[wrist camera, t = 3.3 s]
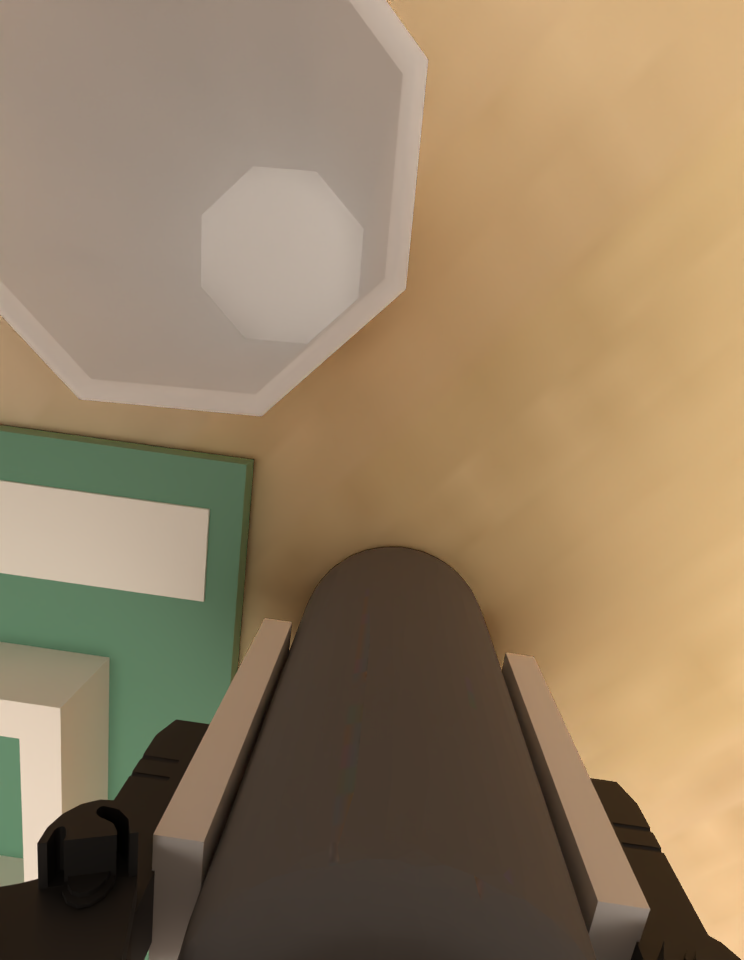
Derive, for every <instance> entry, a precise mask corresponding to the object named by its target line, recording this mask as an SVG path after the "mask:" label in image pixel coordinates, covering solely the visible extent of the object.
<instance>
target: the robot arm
mask: <svg viewBox="0 0 744 960" xmlns="http://www.w3.org/2000/svg"><path fill="white" fill-rule="evenodd" d="M291 627H292V622H289V621H282V620H275V619H268V618H264V620H263V622H262V624H261V626H260V628H259V630H258V632H257V634H256V636H255V638H254V639H253V641H252V643H251V645H250V647H249V649H248V651H247V653H246V655H245V657H244V659H243V661H242V663H241V665H240V667H239V669H238V671H237V673H236V674H235V676H234V678H233V680H232V682H231V684H230V686H229V688H228V690H227V692H226V694H225V696H224V698H223V700H222V702H221V704H220V706H219V708H218V709H217V711H216V713H215V715H214V717H213V719H212V721H211V723H210V724H205V723H198V722H191V721H184V720H177V719H176V720H175V721H173V722H172V723H171V724H169V725H168V726H167V727H166V728H164V729H163V730H162V731H160V732H159V733H158V734H156V735H155V737H154V739H153V740H152V742H151V743H150V745H149V746H148V748H147V749H146V751H145V753H144V754H143V757H142V759H140V760H139V762H138V763H137V765H136V767H135V768H134V770H133V771H132V775H131V776H129V777H128V779H127V780H126V782H125V784H124V785H123V787H122V788H121V790H120V791H119V793H118V794H117V796H116V798H115V799H114V800H102V799H100V800H96V801H92V802H87V803H83V804H80V805H78V806H76V807H75V808H73V809H71V810H69V811H67V812H65V813H63V814H62V815H61V816H60V817H58V818H57V819H56V820H55V821H54V822H53V823H52V824H50V825H49V826H48V827H47V829H46V830H45V832H44V833H43V835H42V837H41V838H40V840H39V841H38V843H37V856H38V879H35V880H31V881H27V882H23V883H19V884H13V885H7V886H1V887H0V960H145V957H146V955H147V952H148V950H149V960H177V959H178V956H179V953H180V949H181V946H182V943H183V940H184V936H185V933H186V930H187V926H188V923H189V920H190V917H191V915H192V912H193V909H194V906H195V904H196V901H197V898H198V896H199V893H200V890H201V887H202V885H203V882H204V879H205V877H206V874H207V871H208V868H209V866H210V863H211V860H212V858H213V855H214V852H215V849H216V847H217V844H218V841H219V839H220V836H221V833H222V830H223V828H224V825H225V822H226V820H227V817H228V814H229V811H230V809H231V806H232V803H233V801H234V798H235V795H236V792H237V790H238V787H239V784H240V782H241V779H242V776H243V773H244V771H245V768H246V765H247V763H248V760H249V757H250V754H251V752H252V749H253V746H254V744H255V741H256V738H257V735H258V733H259V730H260V727H261V725H262V722H263V719H264V717H265V714H266V711H267V709H268V706H269V704H270V701H271V698H272V696H273V693H274V690H275V688H276V685H277V682H278V680H279V677H280V674H281V672H282V669H283V667H284V664H285V661H286V659H287V656H288V653H289V647H290V637H291ZM502 674H503V677H504V680H505V683H506V686H507V689H508V692H509V695H510V698H511V701H512V704H513V707H514V710H515V713H516V716H517V719H518V722H519V725H520V728H521V731H522V734H523V737H524V740H525V743H526V746H527V749H528V752H529V755H530V758H531V761H532V764H533V767H534V770H535V773H536V776H537V779H538V782H539V785H540V788H541V791H542V794H543V797H544V800H545V803H546V806H547V809H548V812H549V815H550V818H551V821H552V824H553V827H554V830H555V833H556V836H557V839H558V842H559V845H560V848H561V851H562V854H563V857H564V860H565V863H566V866H567V869H568V872H569V875H570V878H571V881H572V885H573V888H574V891H575V894H576V897H577V900H578V903H579V906H580V909H581V913H582V916H583V919H584V922H585V925H586V928H587V931H588V934H589V937H590V940H591V944H592V947H593V950H594V953H595V956H596V959H597V960H741V959H740V958H739V957H737V956H736V955H735V954H734V953H733V952H732V951H730V950H729V949H728V948H727V947H726V946H725V945H723V944H722V943H721V942H719V941H717V940H716V939H714V938H712V937H710V936H709V935H708V934H707V932H706V930H705V929H704V927H703V925H702V923H701V921H700V919H699V917H698V916H697V914H696V912H695V910H694V908H693V906H692V905H691V903H690V901H689V899H688V897H687V895H686V893H685V892H684V890H683V888H682V886H681V884H680V882H679V880H678V879H677V877H676V875H675V873H674V871H673V869H672V867H671V866H670V864H669V862H668V860H667V858H666V856H665V855H664V853H662V852H661V847H660V845H659V843H658V842H657V840H656V838H655V836H654V834H653V833H652V832H650V827H649V825H648V823H647V821H646V819H645V818H644V816H643V814H642V812H641V810H640V808H639V806H638V805H637V803H636V802H635V801H634V800H633V799H632V798H631V797H630V796H629V795H628V794H627V793H626V792H625V791H624V790H623V788H622V787H621V786H620V785H619V784H618V783H617V782H613V781H606V780H599V779H592V778H590V777H589V775H588V773H587V771H586V769H585V766H584V764H583V762H582V760H581V758H580V756H579V753H578V751H577V749H576V747H575V745H574V743H573V740H572V738H571V736H570V734H569V732H568V730H567V727H566V725H565V723H564V721H563V719H562V716H561V714H560V712H559V710H558V708H557V706H556V703H555V701H554V699H553V697H552V695H551V693H550V690H549V688H548V686H547V684H546V682H545V680H544V677H543V675H542V673H541V671H540V669H539V667H538V664H537V662H536V660H535V658H534V656H527V655H520V654H513V653H506V654H505V659H504V664H503V668H502Z"/></svg>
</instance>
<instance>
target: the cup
mask: <svg viewBox="0 0 744 960" xmlns="http://www.w3.org/2000/svg"><path fill="white" fill-rule="evenodd" d="M427 68H428V58H427V57H426V56H425V54H424V53H423V51H422V50H421V49H420V47H419V46H418V44H417V43H416V42H415V40H414V39H413V37H412V36H411V35H410V33H409V32H408V31H407V29H406V28H405V26H404V25H403V24H402V22H401V21H400V19H399V18H398V17H397V15H396V14H395V12H394V11H393V10H392V8H391V7H390V5H389V4H388V3H387V1H386V0H0V315H1V316H2V317H3V318H4V319H5V320H6V321H7V322H8V323H9V325H10V326H11V327H12V328H13V329H14V330H15V331H16V332H17V333H18V334H19V335H20V336H21V337H22V338H23V340H24V341H25V342H26V343H27V344H28V345H29V346H30V347H31V348H32V349H33V350H34V351H35V352H36V353H37V355H38V356H39V357H40V358H41V359H42V360H43V361H44V362H45V363H46V364H47V365H48V366H49V367H50V369H51V370H52V371H53V372H54V373H55V374H56V375H57V376H58V377H59V378H60V379H61V380H62V381H63V382H64V384H65V385H66V386H67V387H68V388H69V389H70V390H71V391H72V392H73V393H74V394H75V395H76V396H77V397H78V399H80V400H91V401H102V402H112V403H123V404H134V405H144V406H155V407H166V408H176V409H187V410H197V411H208V412H219V413H229V414H240V415H251V416H263V415H264V414H265V413H266V412H267V411H268V410H269V409H271V408H272V407H273V406H274V405H275V404H276V403H277V402H278V401H280V400H281V399H282V398H283V397H284V396H285V395H286V394H288V393H289V392H290V391H291V390H292V389H293V388H294V387H296V386H297V385H298V384H299V383H300V382H301V381H302V380H303V379H305V378H306V377H307V376H308V375H309V374H310V373H311V372H313V371H314V370H315V369H316V368H317V367H318V366H319V365H321V364H322V363H323V362H324V361H325V360H326V359H327V358H328V357H330V356H331V355H332V354H333V353H334V352H335V351H336V350H338V349H339V348H340V347H341V346H342V345H343V344H344V343H346V342H347V341H348V340H349V339H350V338H351V337H352V336H353V335H355V334H356V333H357V332H358V331H359V330H360V329H361V328H363V327H364V326H365V325H366V324H367V323H368V322H369V321H371V320H372V319H373V318H374V317H375V316H376V315H377V314H378V313H380V312H381V311H382V310H383V309H384V308H385V307H386V306H388V305H389V304H390V303H391V302H392V301H393V300H394V299H396V298H397V297H398V296H399V295H400V294H401V293H402V292H403V291H405V290H406V283H407V273H408V263H409V252H410V242H411V232H412V222H413V211H414V201H415V191H416V181H417V170H418V160H419V150H420V140H421V129H422V119H423V109H424V99H425V88H426V78H427Z"/></svg>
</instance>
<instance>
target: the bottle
mask: <svg viewBox="0 0 744 960" xmlns="http://www.w3.org/2000/svg"><path fill="white" fill-rule="evenodd" d="M177 960H597V959H596V956H595V953H594V950H593V947H592V944H591V940H590V937H589V934H588V931H587V928H586V925H585V922H584V919H583V916H582V913H581V909H580V906H579V903H578V900H577V897H576V894H575V891H574V888H573V885H572V881H571V878H570V875H569V872H568V869H567V866H566V863H565V860H564V857H563V854H562V851H561V848H560V845H559V842H558V839H557V836H556V833H555V830H554V827H553V824H552V821H551V818H550V815H549V812H548V809H547V806H546V803H545V800H544V797H543V794H542V791H541V788H540V785H539V782H538V779H537V776H536V773H535V770H534V767H533V764H532V761H531V758H530V755H529V752H528V749H527V746H526V743H525V740H524V737H523V734H522V731H521V728H520V725H519V722H518V719H517V716H516V713H515V710H514V707H513V704H512V701H511V698H510V695H509V692H508V689H507V686H506V683H505V680H504V677H503V674H502V671H501V668H500V665H499V662H498V659H497V656H496V653H495V650H494V647H493V644H492V641H491V638H490V635H489V632H488V629H487V626H486V624H485V621H484V618H483V615H482V613H481V610H480V607H479V605H478V603H477V600H476V598H475V596H474V594H473V592H472V591H471V589H470V588H469V586H468V585H467V584H466V582H465V581H464V580H463V579H462V577H461V576H460V575H459V574H458V573H457V572H456V571H455V570H453V569H452V568H451V567H450V566H448V565H447V564H446V563H444V562H442V561H441V560H439V559H437V558H435V557H433V556H431V555H429V554H426V553H423V552H420V551H417V550H413V549H409V548H402V547H385V548H376V549H370V550H366V551H363V552H361V553H358V554H355V555H353V556H351V557H349V558H347V559H346V560H344V561H342V562H341V563H339V564H338V565H336V566H335V567H334V568H333V569H331V570H330V571H329V572H328V573H327V574H326V575H325V576H324V577H323V578H322V580H321V581H320V582H319V584H318V585H317V587H316V588H315V590H314V592H313V594H312V596H311V598H310V600H309V602H308V604H307V607H306V609H305V612H304V614H303V617H302V619H301V622H300V624H299V627H298V630H297V632H296V635H295V638H294V640H293V643H292V646H291V648H290V651H289V653H288V656H287V659H286V661H285V664H284V667H283V669H282V672H281V674H280V677H279V680H278V682H277V685H276V688H275V690H274V693H273V696H272V698H271V701H270V704H269V706H268V709H267V711H266V714H265V717H264V719H263V722H262V725H261V727H260V730H259V733H258V735H257V738H256V741H255V744H254V746H253V749H252V752H251V754H250V757H249V760H248V763H247V765H246V768H245V771H244V773H243V776H242V779H241V782H240V784H239V787H238V790H237V792H236V795H235V798H234V801H233V803H232V806H231V809H230V811H229V814H228V817H227V820H226V822H225V825H224V828H223V830H222V833H221V836H220V839H219V841H218V844H217V847H216V849H215V852H214V855H213V858H212V860H211V863H210V866H209V868H208V871H207V874H206V877H205V879H204V882H203V885H202V887H201V890H200V893H199V896H198V898H197V901H196V904H195V906H194V909H193V912H192V915H191V917H190V920H189V923H188V926H187V930H186V933H185V936H184V940H183V943H182V946H181V949H180V953H179V956H178V959H177Z"/></svg>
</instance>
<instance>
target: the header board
mask: <svg viewBox="0 0 744 960" xmlns="http://www.w3.org/2000/svg"><path fill="white" fill-rule="evenodd" d="M253 466H254V460H253V459H246V458H239V457H231V456H224V455H217V454H209V453H202V452H195V451H188V450H180V449H173V448H166V447H158V446H151V445H144V444H137V443H129V442H122V441H115V440H107V439H100V438H93V437H86V436H78V435H71V434H64V433H56V432H49V431H42V430H34V429H27V428H20V427H13V426H5V425H0V887H1V886H7V885H13V884H19V883H23V882H27V881H31V880H35V879H38V856H37V843H38V841H39V840H40V838H41V837H42V835H43V833H44V832H45V830H46V829H47V827H48V826H49V825H50V824H52V823H53V822H54V821H55V820H56V819H57V818H58V817H60V816H61V815H62V814H63V813H65V812H67V811H69V810H71V809H73V808H75V807H76V806H78V805H80V804H83V803H87V802H92V801H96V800H100V799H102V800H114V799H115V798H116V796H117V794H118V793H119V791H120V790H121V788H122V787H123V785H124V784H125V782H126V780H127V779H128V777H129V776H131V775H132V771H133V770H134V768H135V767H136V765H137V763H138V762H139V760H140V759H142V757H143V754H144V753H145V751H146V749H147V748H148V746H149V745H150V743H151V742H152V740H153V739H154V737H155V735H156V734H158V733H159V732H160V731H162V730H163V729H164V728H166V727H167V726H168V725H169V724H171V723H172V722H173V721H175V720H176V719H177V720H184V721H191V722H198V723H205V724H210V723H211V721H212V719H213V717H214V715H215V713H216V711H217V709H218V708H219V706H220V704H221V702H222V700H223V698H224V696H225V694H226V692H227V690H228V688H229V686H230V684H231V682H232V680H233V678H234V676H235V674H236V673H237V671H238V660H239V647H240V634H241V621H242V608H243V595H244V583H245V570H246V557H247V544H248V531H249V518H250V505H251V492H252V479H253ZM145 960H149V950H148V952H147V955H146V957H145Z"/></svg>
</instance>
